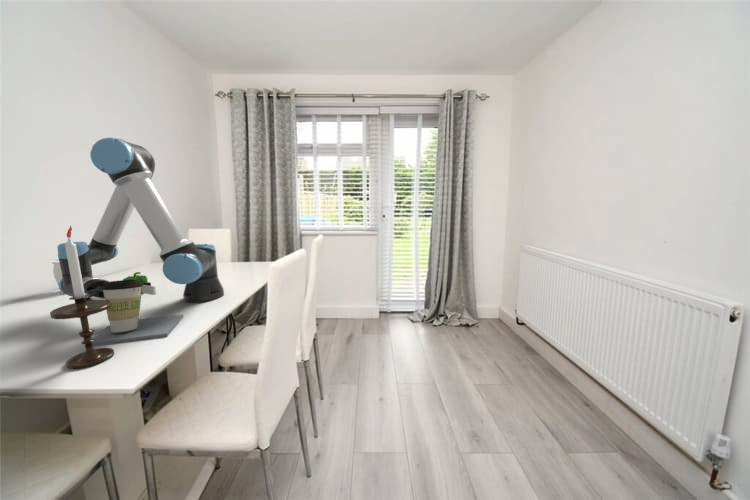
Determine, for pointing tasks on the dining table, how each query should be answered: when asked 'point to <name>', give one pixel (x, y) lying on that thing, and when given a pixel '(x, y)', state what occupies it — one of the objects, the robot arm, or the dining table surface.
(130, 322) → the coffee cup
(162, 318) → the slate mat
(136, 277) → the bell pepper
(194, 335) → the dining table surface
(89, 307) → the candlestick
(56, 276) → the jar
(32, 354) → the dining table surface
